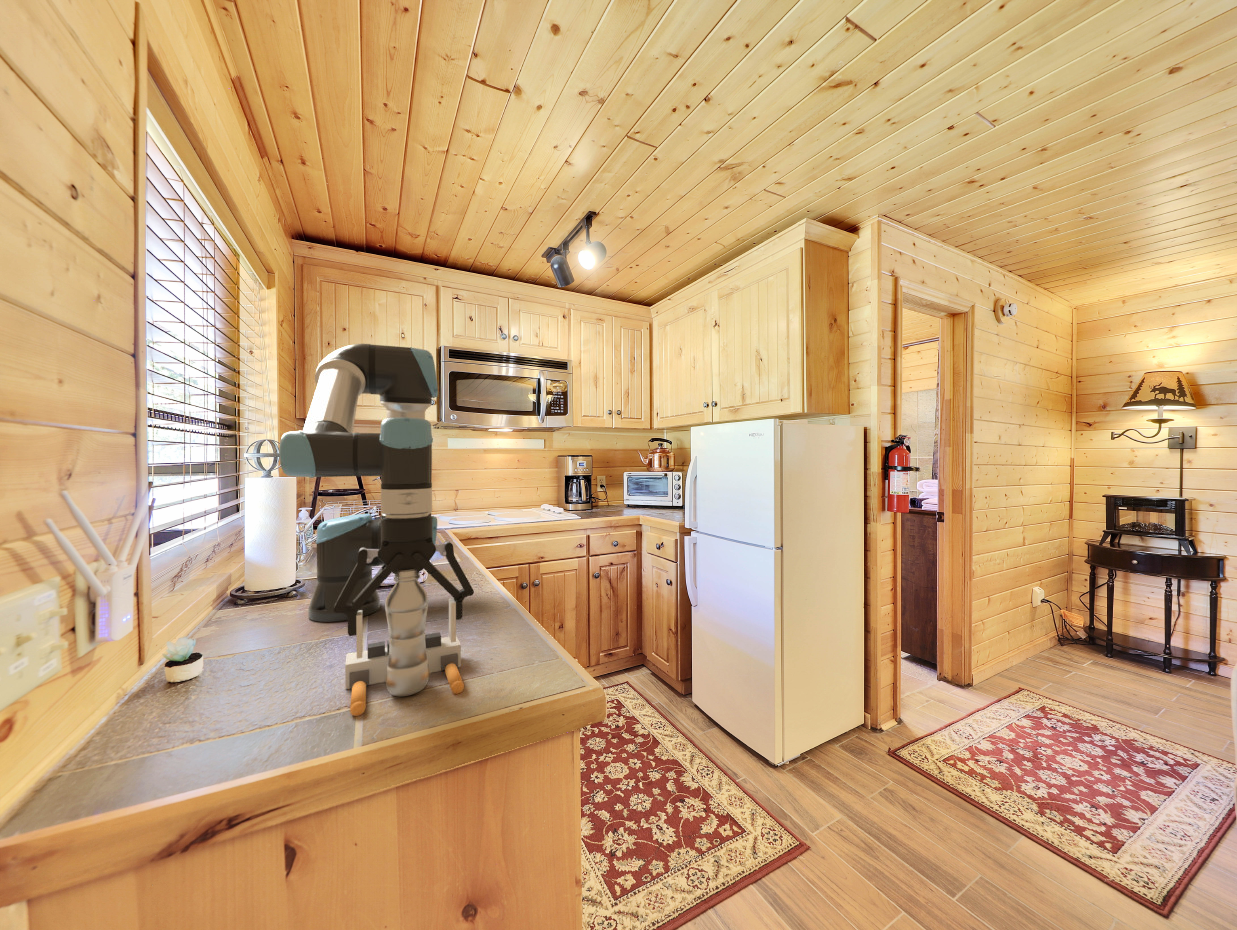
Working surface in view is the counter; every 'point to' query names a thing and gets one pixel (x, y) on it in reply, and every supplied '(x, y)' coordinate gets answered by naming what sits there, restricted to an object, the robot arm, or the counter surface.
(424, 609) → the plastic bottle
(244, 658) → the counter surface
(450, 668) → the cord
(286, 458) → the robot arm
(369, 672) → the breaker strip
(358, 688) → the cord
